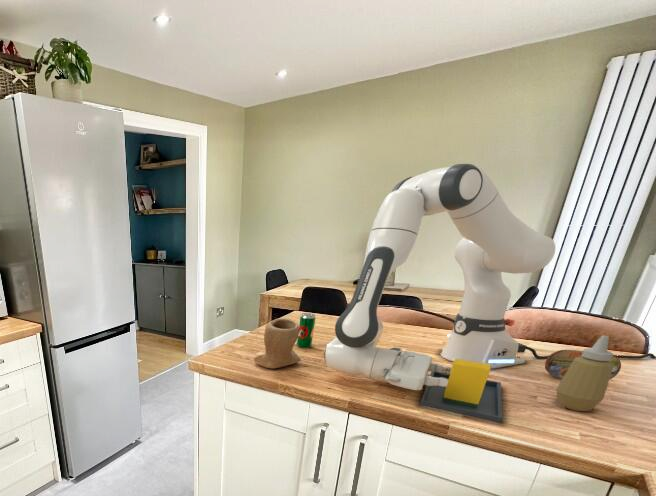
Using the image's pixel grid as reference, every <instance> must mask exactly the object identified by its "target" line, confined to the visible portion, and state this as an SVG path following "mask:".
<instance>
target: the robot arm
mask: <svg viewBox="0 0 656 496" xmlns="http://www.w3.org/2000/svg"><path fill="white" fill-rule="evenodd" d="M445 212H447V214H448V216H449V217H450V219H451V221H452V222H453V224H454V226H455V227H456V229H457V231H458V232H459V234H460V235H461V236H462V238H461V239H460V240H459V241H458V242H457V244H456V245H455V246H456V247H455V249H454V259H455V261H456V262H457V264H459V266H460V267H461V271H462V273H463V279H464V289H463V290H464V291H463V296H462V301H461V304H460V307H459V311H458V313H456V315H455V319H454V322H453V328H452V330H451V332H450V334H447V341H446V343H445V345H444V346H443V347H442V350H441V352H440V357H441V358H443V359H445V360H448V361H451V362H454V360H455V359H459V360H466V361H472V362H479V363H485V364H490V369H498V368H499V369H500V368H505V367H510V366H516V365H521V364H525V362H526V360H525V359H524V358H523V357H521V356H519V357H516V355H517V354H519V353H520V354H523V353H524V354H525V352H526V350H527V351H530V352H531V353H532V355H534V356H533V357H534V358H536V359H538V360H546V359H547V358H548V357H549V356H550V355H546V356H542V355H539V354H538V353H537V351H536V350H535V349H534V348H532V347H530V346H527V344H526V345H525V344H523V343H520V342H518V341H517V340H515V339H514V337H512V336H511V335H510V334H509V333H508V332H507V330H506V326H508V327H513V326H514V325H515V323H516V320H515V319H510V318H506V319H505V314H506V312H507V309H508V306H509V302H510V300H511V297H512V291H511V290H510V288H509V287H508V286H506V284H505V283H504V281H503V276H502V273H507V274H530V273H531V274H532V273H536V272H539V271H541V270H543V269H544V268H545V267H547V266H548V265H549V264H550V263H551V261H552V260H553V258H554V257H555V254H556V244H555V241H554V239H553V238H551V237H550V236H548V235H545V234H543V233H540V232H538V231H537V230H535V229H534V228H532V227H531V226H529V225H528V224H526V223H525V222H524V221H522V220H521V219H520V218H519V217H517V216H516V214H514V213H513V212H512V211H511V210H510V208H509V207H508V205H507V204H506V202H505V200H504V199H503V197H502V195H501V193H500V192H499V189H498V188H497V186H496V184H495V183H494V181H493V180H492V179H491V177H490V176H489V174H487V173H486V171H485V170H484V169H483V168H481V167H480V166H479V165H477V164H474V163H456V164H453V165H451V166H444V167H438V168H434V169H431V170H428V171H426V172H423V173H420V174H418V175H414V176H409V177H406V178H404V179H403V180H401V181H400V182H398V183H397V184H396V185H395V186H394V187H393V189H392V190H391V192H390V193H388V194H387V195H386V197H384V199H383V201H382V203H381V205H380V207H379V209H378V211H377V213H376V216H375V218H374V221H373V223H372V225H371V228H370V231H369V232H370V233H369V235H368V239H367V244H366V247H365V254H364V260H363V266H362V269H361V272H360V275H359V278H358V281H357V284H356V286H355V289H354V292H353V295H352V298H351V300H350V303H349V304H348V306H347V307H346V309H345V310H344V311H343V312H342V313H340V315H339V317H338V319H336V322H335V326H334V332H335V333H334V334H335V337H334V338H333V339H332V340H331V341H330V342H328V343H327V344H326V346H325V349H324V354H323V355H324V357H323V358H324V364H325V365H326V366H327V368H328V369H330V370H331V371H334V372H337V373H341V374H344V375H349V376H355V377H356V376H358V377H359V376H361V377H365V378H366V379H369V380H374V381H378V382H384V383H389V384H390V385H393V386H395V387H399V388H403V389H408V390H412V391H422V390H423V386H426V385H428V386H444V387H446V386H447V384H448V378H443V377H440V378H436V377H431V376H430V375H428V374H429V372H434V371H435V372H439V373H441V374H445V375H449V374H450V373H451V370H452V367H450V366H446V365H442V364H440V363H437V362H433V357H432V356H430V355H428V354H423V353H420V352H415V351H410V350H403V349H402V347H395V346H394V347H391V348H381V347H377V345H378V343H379V341H380V339H381V337H382V335H383V332H384V325H383V322H382V320H381V319H380V318H379V317H378V306H379V304H380V302H381V299H382V295H383V292H384V289H385V287H386V285H387V281H388V279H389V277H390V276H391V275H392V273H393V272H394V271H395V270H396V269H397V268H399V267H400V266H401V265H403V264H404V263H405V262H406V261H407V259H408V257H409V256H410V254H411V252H412V250H413V249H414V246H415V244H416V240H417V237H418V235H419V232H420V227H421V224H422V219H423V217H425V216H426V217H428V216H433V215H436V214H440V213H445ZM613 355H614V356H616V357H617V358H618V359H629V360H630V359H631V360H632V359H633V360H634V359H636V360H639V359H644V358H648V357H650V358H651V359H656V355H655V354H653V353H652V352H651V353H645V354H642V355H624V354H622V355H621V354H613ZM617 355H618V356H617ZM517 356H518V355H517ZM520 357H521V358H520ZM517 358H519V359H517Z"/></svg>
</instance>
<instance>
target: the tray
mask: <svg viewBox="0 0 656 496" xmlns="http://www.w3.org/2000/svg"><path fill="white" fill-rule="evenodd" d="M429 376H431V377H436V378H440V377H443V378H448V379H449V376H450V374H449V375H445V374H441V373H439V372H435V371H434V372H432V371H430V374H429ZM445 389H446V387H444V386H428V385H425V388H424V391H423V393H422V397H421V399H420V403H419V406H422V407H426V408H430V409H435V410H439V411H445V412H449V413H452V414H453V413H454V414H457V415H458V414H459V415H463V416H467V417H472V418H476V419H481V420H486V421H489V422H493V423H494V422H495V423H499V424H501V423H502V421H503V400H502V399H503V398H502V382H500V381H496V380H488V379H487V381H486V384H485V387H484V390H483V393H482V396H481V398H480V401H479V404H478V407H472V406H467V405H463V404H458V403H453V402H448V401H443V396H444V393H445Z"/></svg>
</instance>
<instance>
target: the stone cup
mask: <svg viewBox="0 0 656 496" xmlns="http://www.w3.org/2000/svg"><path fill="white" fill-rule="evenodd" d="M263 334H264V335H263V343H264V348H265V353H264V354H263V353H262V354H260V355H257V356H255V357H253V362H254V363H256V364H257V365H258V366H260V367H264V368H266V369H279V368H282V367H287V366H289V365H293V364H296V363H299V362H301V358H300V357H299V355H298V354H297V353H296V352H295V350H293V348H294V346H295V344H296V343H297V338H298V335H299V324H298V322H296V321H295V320H292V319H290V318H284V317H283V318H282V317H279V318H275V319H273V320H271V321H269V322H268V323H267V324H266V326H265V329H264V333H263Z"/></svg>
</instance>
